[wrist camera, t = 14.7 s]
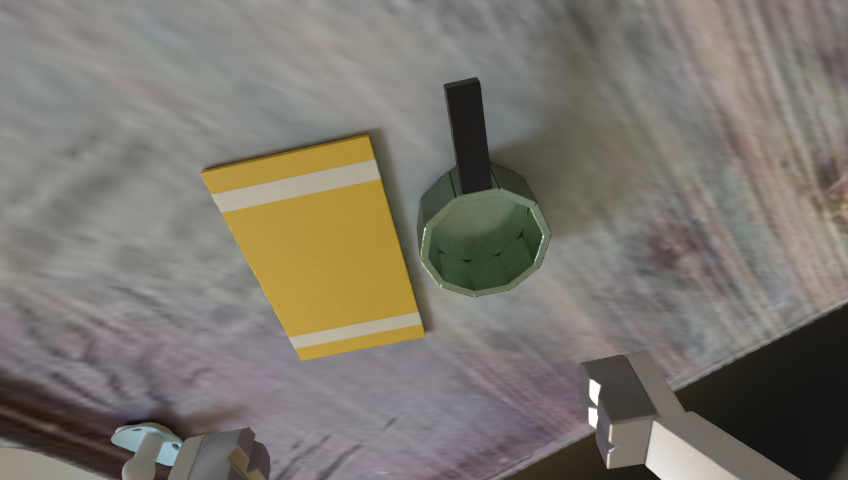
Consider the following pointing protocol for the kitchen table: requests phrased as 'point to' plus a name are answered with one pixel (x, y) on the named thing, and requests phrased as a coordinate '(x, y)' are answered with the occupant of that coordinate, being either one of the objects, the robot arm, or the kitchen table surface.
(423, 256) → the green saucepan
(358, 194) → the towel
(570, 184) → the kitchen table surface
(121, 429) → the pacifier
